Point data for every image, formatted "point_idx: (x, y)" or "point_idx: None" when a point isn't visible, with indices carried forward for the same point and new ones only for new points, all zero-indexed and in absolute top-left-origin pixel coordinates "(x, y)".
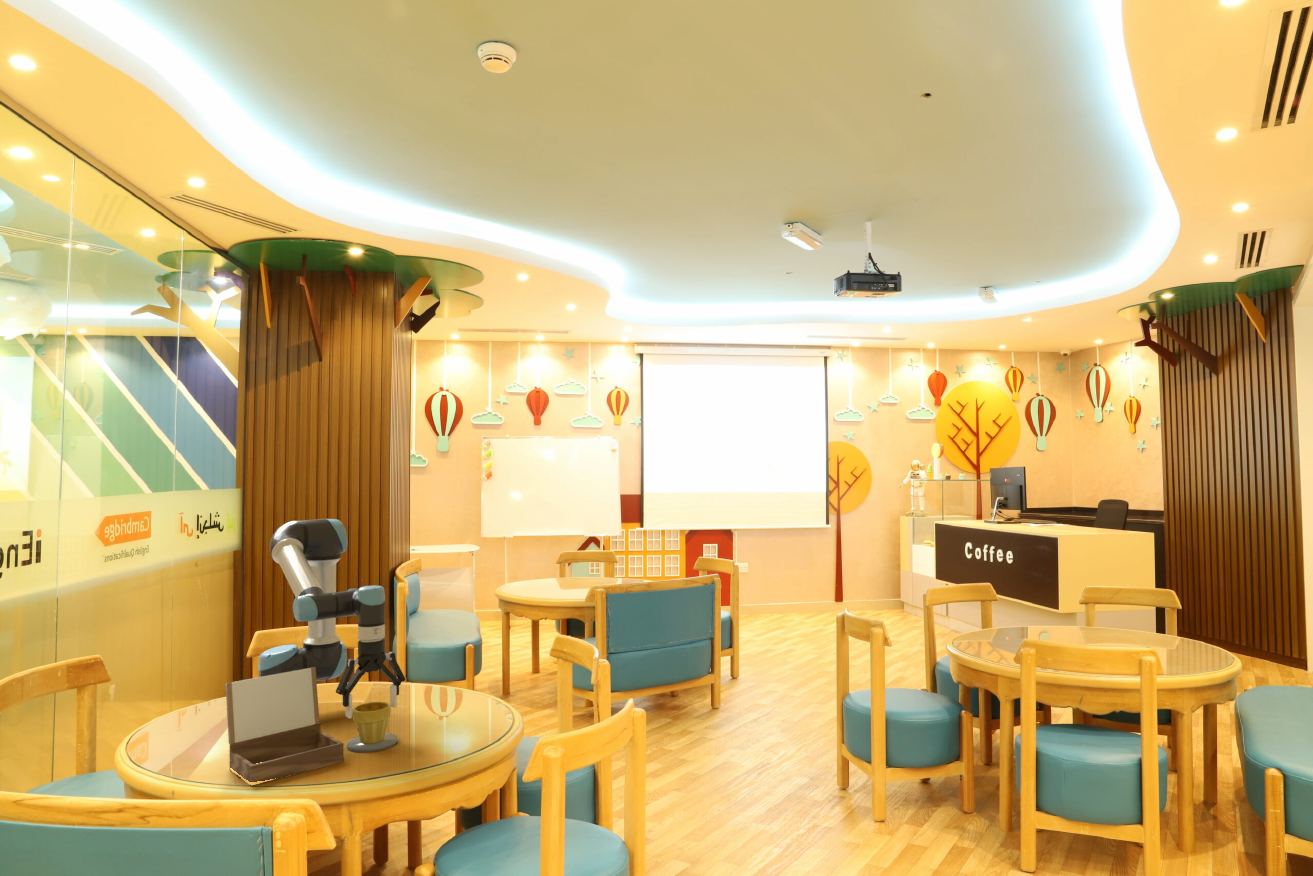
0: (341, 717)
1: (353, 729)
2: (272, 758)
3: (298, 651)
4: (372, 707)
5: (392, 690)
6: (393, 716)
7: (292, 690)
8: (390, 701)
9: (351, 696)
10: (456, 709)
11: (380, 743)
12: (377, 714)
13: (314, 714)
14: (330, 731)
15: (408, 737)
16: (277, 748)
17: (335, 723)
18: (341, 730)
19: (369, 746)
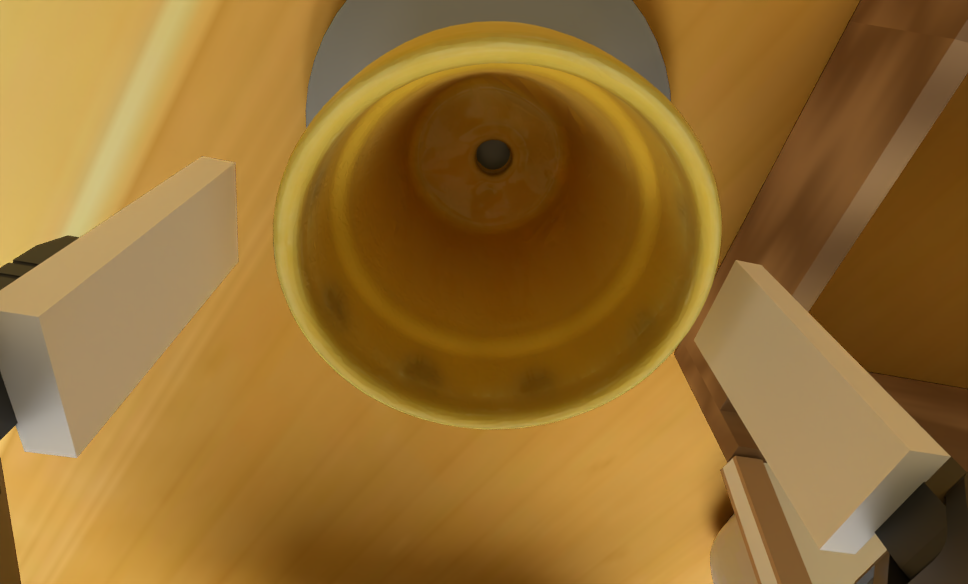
0: (316, 578)
1: (378, 440)
2: (916, 386)
3: None
4: (397, 357)
5: (116, 322)
6: (119, 445)
7: None
8: (213, 281)
9: (906, 436)
10: None
11: (512, 12)
12: (587, 43)
13: (788, 530)
14: (461, 490)
15: (224, 27)
16: (925, 416)
17: (379, 545)
18: (423, 467)
19: (607, 32)
